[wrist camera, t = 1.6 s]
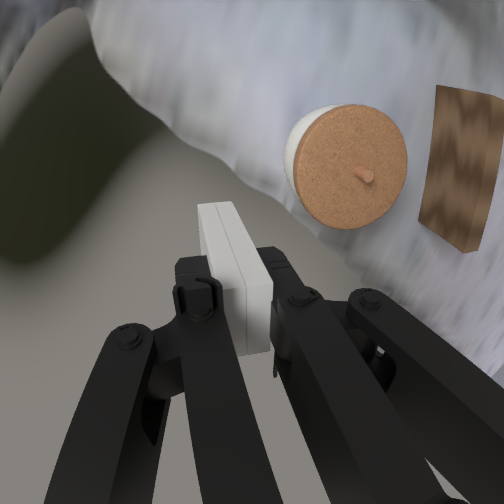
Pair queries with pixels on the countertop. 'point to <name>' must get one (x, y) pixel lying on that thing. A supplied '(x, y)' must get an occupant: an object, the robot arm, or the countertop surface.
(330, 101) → the countertop surface
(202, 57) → the countertop surface
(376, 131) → the lidded jar
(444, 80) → the countertop surface
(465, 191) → the board
